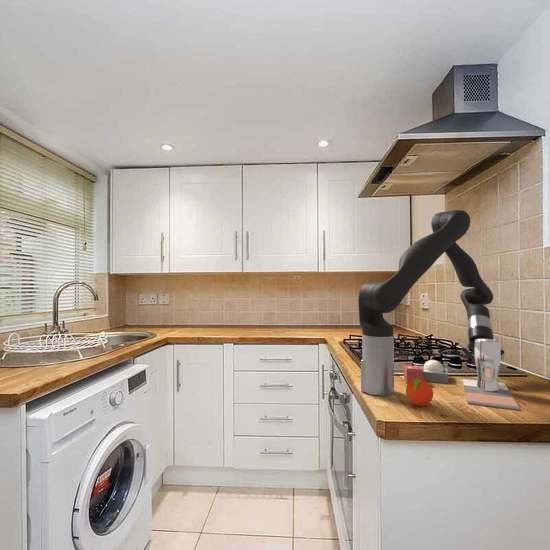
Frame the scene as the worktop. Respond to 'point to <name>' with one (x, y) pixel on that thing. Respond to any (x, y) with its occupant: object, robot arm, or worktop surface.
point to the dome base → (436, 376)
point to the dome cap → (433, 366)
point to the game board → (489, 396)
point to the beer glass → (487, 364)
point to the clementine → (419, 392)
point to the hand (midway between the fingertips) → (484, 375)
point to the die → (412, 373)
